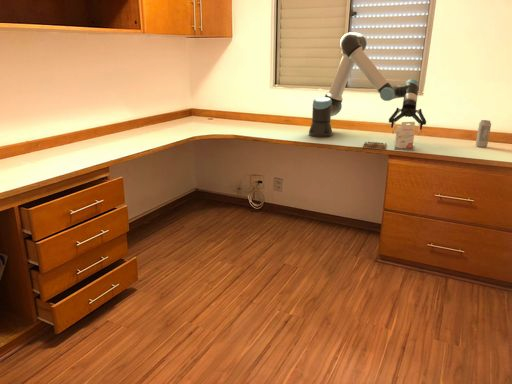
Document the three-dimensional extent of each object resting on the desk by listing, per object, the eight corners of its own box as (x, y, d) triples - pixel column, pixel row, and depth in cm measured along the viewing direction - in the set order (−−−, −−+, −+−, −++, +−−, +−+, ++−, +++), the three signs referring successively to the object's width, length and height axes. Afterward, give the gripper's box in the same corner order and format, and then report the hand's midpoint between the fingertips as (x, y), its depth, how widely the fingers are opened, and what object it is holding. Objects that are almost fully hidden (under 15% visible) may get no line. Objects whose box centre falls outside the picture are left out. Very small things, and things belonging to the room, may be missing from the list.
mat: (394, 149, 238) (394, 148, 238) (395, 145, 249) (395, 144, 249) (413, 150, 235) (413, 150, 235) (413, 146, 246) (413, 145, 246)
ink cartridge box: (408, 145, 245) (411, 120, 240) (412, 147, 240) (416, 121, 236) (394, 146, 243) (397, 120, 239) (398, 148, 239) (401, 122, 234)
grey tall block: (485, 145, 248) (490, 120, 243) (488, 148, 242) (492, 121, 238) (474, 145, 249) (478, 119, 245) (476, 147, 244) (481, 121, 239)
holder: (362, 147, 242) (363, 143, 241) (365, 143, 254) (365, 139, 253) (385, 149, 238) (385, 144, 237) (386, 144, 250) (386, 140, 249)
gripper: (431, 108, 248) (428, 138, 240) (387, 105, 256) (382, 135, 248) (433, 99, 242) (430, 130, 233) (387, 97, 250) (382, 127, 242)
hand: (405, 133), depth 241 cm, fingers open, 13 cm apart
